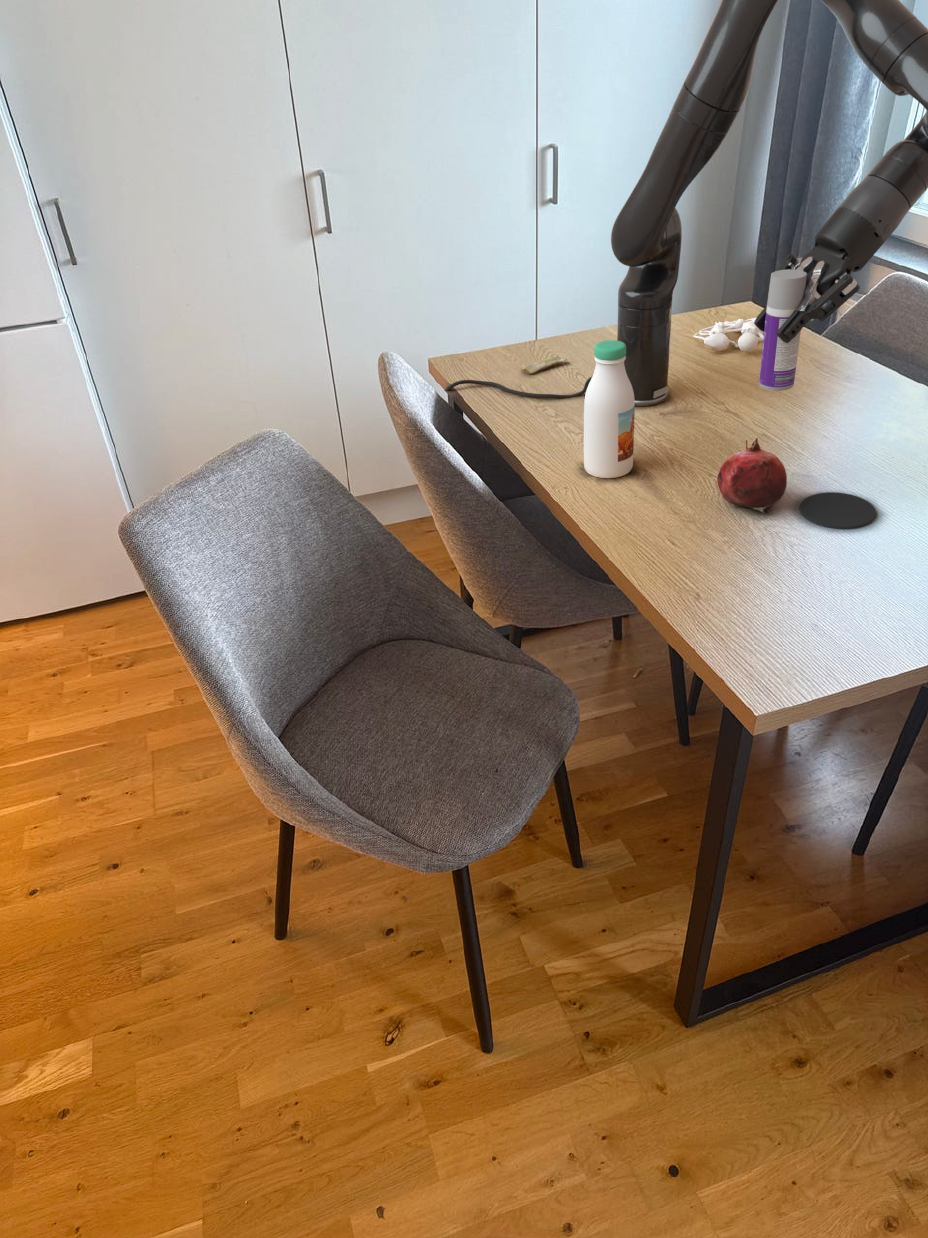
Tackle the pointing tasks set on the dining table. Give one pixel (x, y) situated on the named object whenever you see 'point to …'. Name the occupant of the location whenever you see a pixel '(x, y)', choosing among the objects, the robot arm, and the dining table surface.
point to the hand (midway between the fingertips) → (770, 332)
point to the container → (775, 352)
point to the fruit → (752, 478)
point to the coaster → (837, 510)
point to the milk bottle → (609, 414)
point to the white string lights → (745, 326)
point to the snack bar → (543, 364)
